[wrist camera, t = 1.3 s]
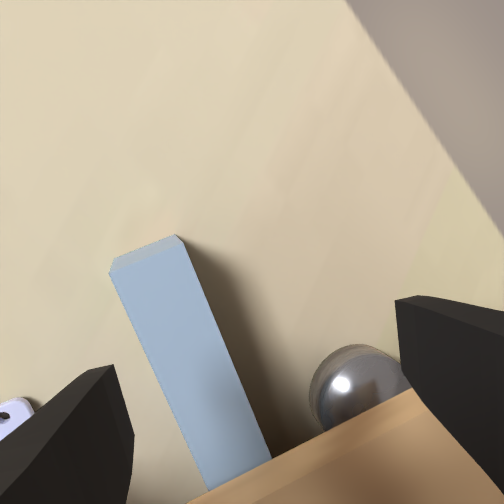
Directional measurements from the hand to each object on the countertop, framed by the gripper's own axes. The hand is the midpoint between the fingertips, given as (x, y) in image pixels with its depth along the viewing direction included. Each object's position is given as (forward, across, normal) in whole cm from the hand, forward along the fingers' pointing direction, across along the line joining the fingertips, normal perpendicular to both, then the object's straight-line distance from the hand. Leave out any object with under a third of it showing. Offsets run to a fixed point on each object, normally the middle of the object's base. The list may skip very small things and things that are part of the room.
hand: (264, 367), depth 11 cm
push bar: (+9, +2, +5) cm, 11 cm away
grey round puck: (+10, -5, +8) cm, 14 cm away
